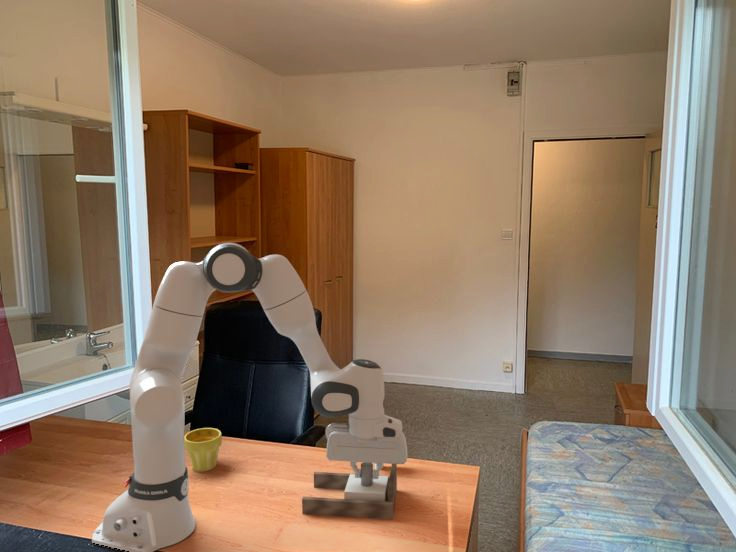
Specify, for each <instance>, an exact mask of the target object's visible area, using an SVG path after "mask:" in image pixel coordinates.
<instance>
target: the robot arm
mask: <svg viewBox="0 0 736 552" xmlns="http://www.w3.org/2000/svg"><path fill="white" fill-rule="evenodd" d="M215 291H219V292H222V293H226V294H228V293H239V292H244V291H252V292H253V293H254V295H255V296H256V297H257V299H258V301H259V303H260V305H261V307H262V310H263V312H264V313H265V316H266V317H267V318H268V321H269V323H270V324H271V325H272V326H273V328H274V329H275V331H276V332H277V334H280V335H281V336H284V337H286V338H289V339H290V340H291V341H293V343H294V344H295V345H296V347H297V348H298V350H299V353H300V355H301V356H302V359H303V361H304V362H305V364H306V366H307V369H308V373H309V387H310V397H311V398H310V401H311V405H312V408H313V409H314V410H315V412H316V413H317V414H318V415H320V416H322V417H325V418H335V417H342V416H347V415H348V423H344V422H343V423H336V422H333V423H331V424H329V425H327V426H326V427H325V438H326V440H327V441H326V442H327V443H326V451H325V455H326V456H325V457H326V458H327V460H328V461H331V462H333V461H334V462H350V463H349V465H350V467H351V469H352V471H353V472H354V474H355V478H361V468H359V467H358V465H357V463H363V462H367V463H372V464H374V463H377V469H373V472H372V475H373V476H372V479H378V478H379V475H380V472H381V471H382V469H381V468H382V467H383V468H384V464H391V465H392V464H397V465H405V464H406V463H407V461H408V444H407V438H406V434H405V432H403V422H402V420H400V419H398V418H396V417H392V416H389V415H387V414H385V409H384V400H385V378H384V377H385V376H384V373H383V372H384V371H383V369H382V367H381V366H380V364H378V363H377V362H375V361H373V360H369V359H364V358H362V359H361V358H360V359H353V360H352V361H351V362H349V364H348V365H345V367H342V366H340V365H339V363H337V362H336V361H334V360H333V359H332V357H331V355H330V354H329V352H328V350H327V348H326V346H325V344H324V342H323V340H322V338H321V335H320V334H319V331H318V327H317V324H316V322H317V321H316V320H317V319H316V314H315V310H314V307H313V303H312V300H311V298H310V295H309V293H308V291H307V289H306V286H305V284H304V282H303V281H302V279H301V277H300V275H299V274H298V272H297V270H296V269H295V268H294V267H293V265H292V263H291V262H290V261H289V259H288V258H287V257H285V256H284V255H282V254H277V253H276V254H269V255H265V256H264V257H261V258H258V257H256V256H254V255H253V254H252V253H250V252H249V251H248V250H247V249H246V247H244V246H243V245H242V244H239V243H235V242H230V241H229V242H222V243H220V244H217V245H215V246H214V247H213V248H211V250H209V252H208V253H207V254H206V256H204V257H203V259H202V260H200V262H192V261H183V260H182V261H178V262H174V263H172V264H170V266H169V267H168V268H167V269H166V272H165V273H164V275H163V277H162V280H161V282H160V284H159V287H158V289H157V292H156V295H155V297H154V302H153V305H152V308H151V312H150V316H149V320H148V323H147V326H146V330H145V334H144V338H143V341H142V343H141V347H140V350H139V352H138V356H137V358H136V361H135V365H134V367H133V371H132V373H131V378H130V382H129V408H130V409H129V410H130V421H131V422H130V423H131V435H132V436H131V437H132V454H133V455H132V456H133V468H134V469H133V471H134V473H132V474H130V475H129V477H128V479H127V480H126V481H124V483H123V484H124V486H123V488H124V489H125V488H126V487H128V489H127V490H125V491H123V493H121V494H120V495H119V496H118V497H117V498H115V499H114V500H113V501H112V502H111V503H110V504H109V505H108V507H107V509H106V510H105V512H104V515H103V518H102V522H101V523H100V524H99V525H98V526H97V527H96V528H95V530H94V532H93V534H92V536H91V543H92V544H93V543H95V544H94V545H96V544H99V545H98V546H101V545H104V546H103V547H105V546H108V547H107V548H109V547H111V548H110V549H114V548H117V549H116V550H118V549H120V550H119V551H122V550H125V551H124V552H127V551H129V552H155V551H157V550H160V549H163V548H166V547H170V546H172V545H176V544H177V543H180V542H181V541H184V540H185V539H186V538H188V537H189V536H191V534H192V533H193V532H194V530H195V528H196V526H197V525H196V520H195V518H194V514H193V512H192V509H191V503H190V499H189V487H190V485H189V483H190V482H189V470H188V467H187V466H186V449H185V444H184V437H185V426H186V425H185V423H186V422H185V420H186V419H185V411H186V410H185V392H184V389H183V385H182V384H183V383H182V382H183V381H182V380H183V377H184V373H185V371H186V368H187V365H188V363H189V360H190V358H191V355H192V353H193V351H194V350H195V346H196V343H197V340H198V335H199V332H200V328H201V325H202V321H203V317H204V314H205V310H206V306H207V304H208V300H209V298H210V296H211V295H212V294H213V292H215Z"/></svg>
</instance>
